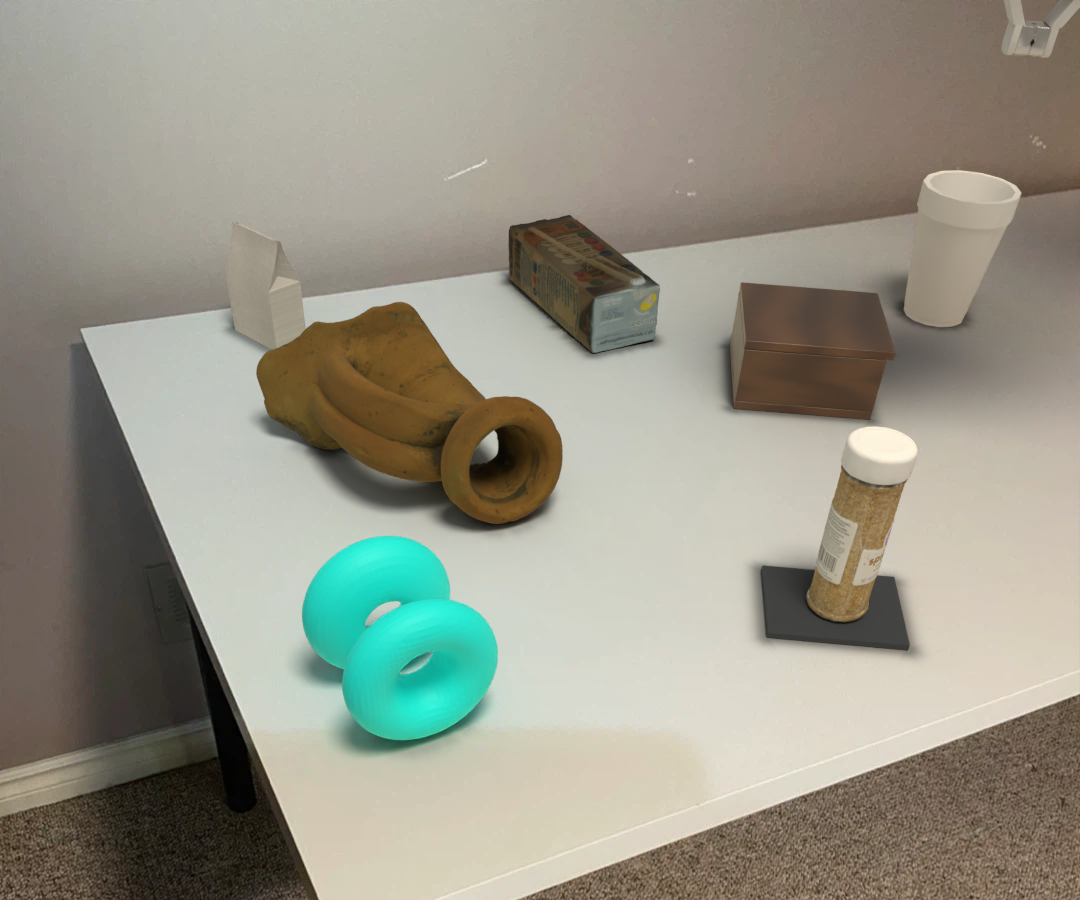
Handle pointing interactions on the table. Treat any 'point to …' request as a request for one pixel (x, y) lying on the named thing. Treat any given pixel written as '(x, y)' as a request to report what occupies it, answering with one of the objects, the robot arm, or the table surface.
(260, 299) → the white gable top carton
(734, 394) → the walnut box
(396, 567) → the donuts
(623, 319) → the beverage carton
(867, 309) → the box lid
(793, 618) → the felt mat
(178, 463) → the table surface
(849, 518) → the spice jar
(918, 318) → the foam cup
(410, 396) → the brown looped sculpture
